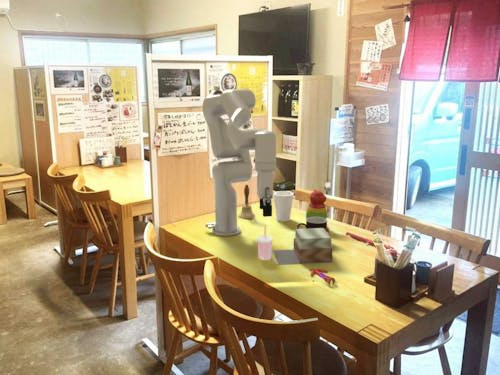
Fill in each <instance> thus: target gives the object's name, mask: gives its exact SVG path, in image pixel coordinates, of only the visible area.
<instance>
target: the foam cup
mask: <svg viewBox="0 0 500 375" xmlns="http://www.w3.org/2000/svg"><path fill="white" fill-rule="evenodd" d="M273 199H274V210H275V216H276V218H275V219H276V221H278V222H283V223H285V222H289V221H290V219H291V214H292V207H293V201H294V192H291V191H288V190H287V191H286V190H278V191H275V192H273Z"/></svg>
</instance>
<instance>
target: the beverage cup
mask: <svg viewBox="0 0 500 375" xmlns="http://www.w3.org/2000/svg"><path fill="white" fill-rule="evenodd" d="M263 226H264V229H263V230H264V232H263V234H264V235H259V236H257V237H256V241H257V251H258V252H257V253H258V260H261V261H270V260H271V259H272V252H273V241H274V237H273V236H271V235H267V234H266V233H267V232H266V231H267V227H266V226H267V225H266V224H264V225H263Z"/></svg>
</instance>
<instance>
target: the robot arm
mask: <svg viewBox="0 0 500 375" xmlns="http://www.w3.org/2000/svg"><path fill="white" fill-rule="evenodd" d="M256 102H257V100H256V96H255V93H254V92H253V91H252V90H251V89H248V88H246V89H245V88H242V89H241V88H239V89H238V88H237V89H235V88H234V89H232V88H231V89H226V90H224V91H222V93H220V94H212V95H211V94H210V95H208V96H206V97H205V98H204V99H203V101H202V114H203V117H204V121H205V122H206V124H207V128H208V130H209V137H210V143H211V151H212V155H213V157H214V158H216V159H219V160H224V159H225V160H227V159H236V160H227V161H220V162H217V163H215V164H214V165H213V167H212V168H211V174H212V179H213V185H214V211H215V213H214V214H215V220H214V221H213V222H211V223H210V222H205V228H208V229H212V233H213V234H214V235H216V236H218V237H219V236H221V237H231V236H236V235H238V234H240V233H241V232H242V231H241V227H240V226H238V195H237V194H238V193H237V191H236V189H235V187H233V186H232V184H234V183H243V182H248V181H250V180H251V178H252V177H253V168H252V160H251V155H250V151H254V171H255V172H257V177H256V178H257V179H256V196H257V197H258V199H259V209H260V210H262V217H264V218H265V217H272V216H273V203H272V199H274V172H276V171H277V134H276V133H275V132H274V131H271V130H270V131H269V130H267V129H265V128H257V129H256V128H251V129H248V128H247V129H240V128H242V127H243V126H245V125H247V124H248V122H249V121H250V120H251V119H252V110H253V109H254V108H255V106H256ZM224 115H225V116H226V115H227V116H228V117H227V118H228V119H229V120H228V123H227V122H226V120H225V119H223V117H222V116H224Z"/></svg>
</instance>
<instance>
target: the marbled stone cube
mask: <svg viewBox="0 0 500 375" xmlns="http://www.w3.org/2000/svg"><path fill="white" fill-rule="evenodd" d="M294 233H295V237H294V238H293V249H294V252H295V254H296V256H297V258H298V260H299V262H300V263H304V262H329V261H332V262H333V247H332V237H331V236H330V234H329V232H326V230H325V229H324V228H308V229H306V228H299V229H297V228H296V229H295V232H294Z"/></svg>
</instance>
